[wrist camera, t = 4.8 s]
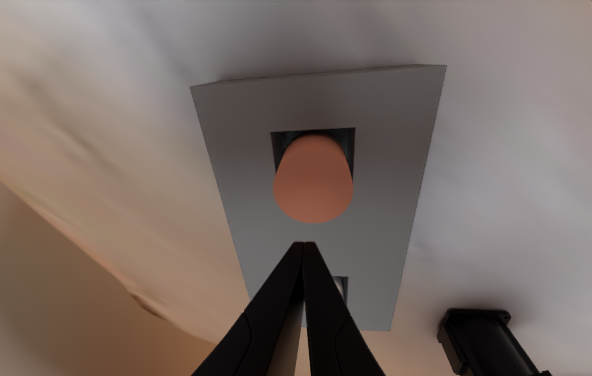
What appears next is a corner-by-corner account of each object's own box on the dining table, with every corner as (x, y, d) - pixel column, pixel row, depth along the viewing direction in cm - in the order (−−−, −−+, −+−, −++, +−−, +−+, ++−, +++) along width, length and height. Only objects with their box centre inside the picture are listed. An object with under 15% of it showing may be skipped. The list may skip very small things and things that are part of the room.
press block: (417, 64, 15) (447, 65, 11) (380, 296, 27) (389, 331, 23) (216, 81, 17) (189, 86, 13) (264, 292, 28) (256, 324, 25)
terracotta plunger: (346, 129, 15) (355, 151, 11) (345, 189, 17) (351, 223, 13) (279, 133, 15) (267, 155, 12) (286, 190, 17) (277, 223, 14)
